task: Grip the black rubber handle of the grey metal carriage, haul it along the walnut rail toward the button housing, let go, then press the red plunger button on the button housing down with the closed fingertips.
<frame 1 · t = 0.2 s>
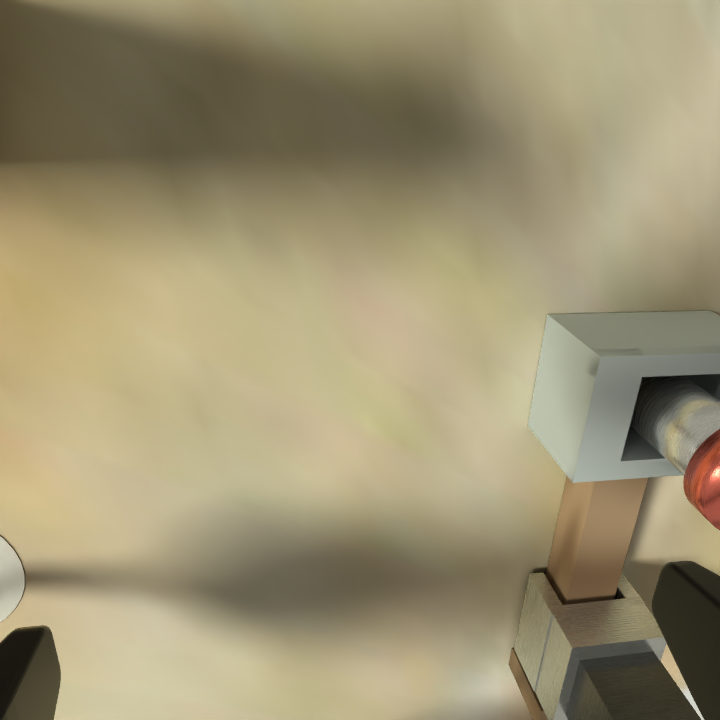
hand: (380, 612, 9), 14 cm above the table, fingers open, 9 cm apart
button housing: (616, 369, 25), on the table
carriage: (607, 681, 27), point 4 cm above the table, slide at -3.0 cm
rail: (572, 557, 29), on the table
red plunger button: (701, 437, 21), point 5 cm above the table, slide at 0.0 cm
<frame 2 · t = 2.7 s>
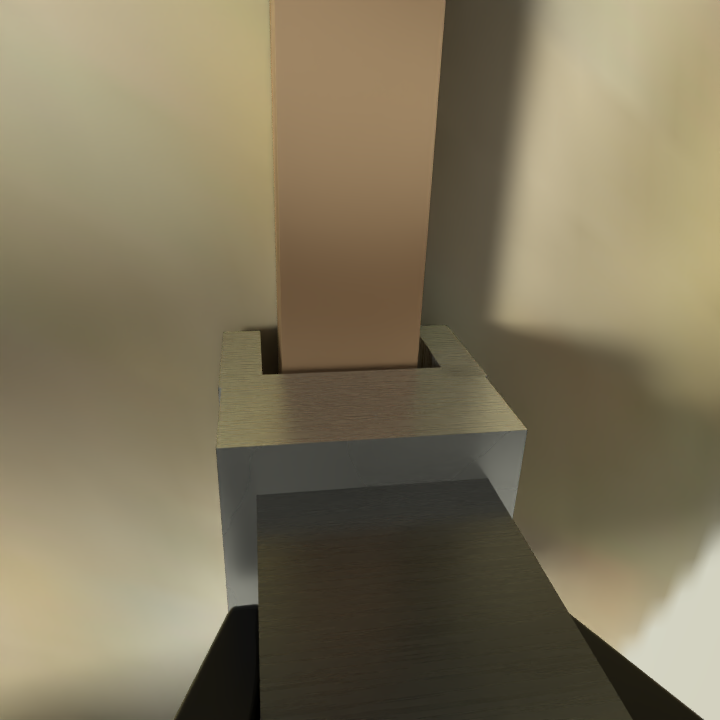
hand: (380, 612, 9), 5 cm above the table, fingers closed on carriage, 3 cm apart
carriage: (369, 571, 10), point 4 cm above the table, slide at -3.0 cm, touching gripper
rail: (336, 299, 12), on the table
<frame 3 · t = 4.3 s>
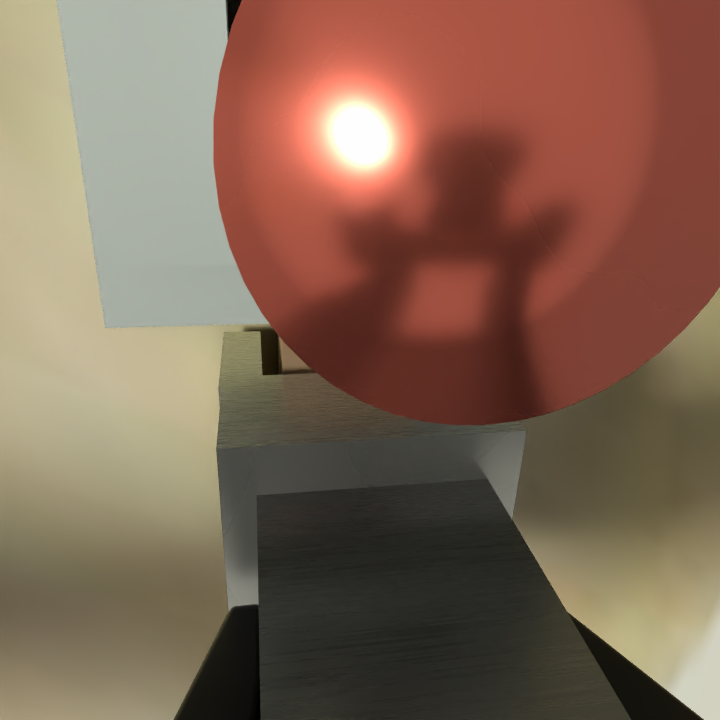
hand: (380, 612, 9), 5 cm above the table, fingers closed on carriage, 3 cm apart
button housing: (340, 108, 11), on the table
carriage: (369, 572, 10), point 4 cm above the table, slide at 3.4 cm, touching gripper
rail: (332, 549, 15), on the table
red plunger button: (411, 132, 6), point 5 cm above the table, slide at 0.0 cm
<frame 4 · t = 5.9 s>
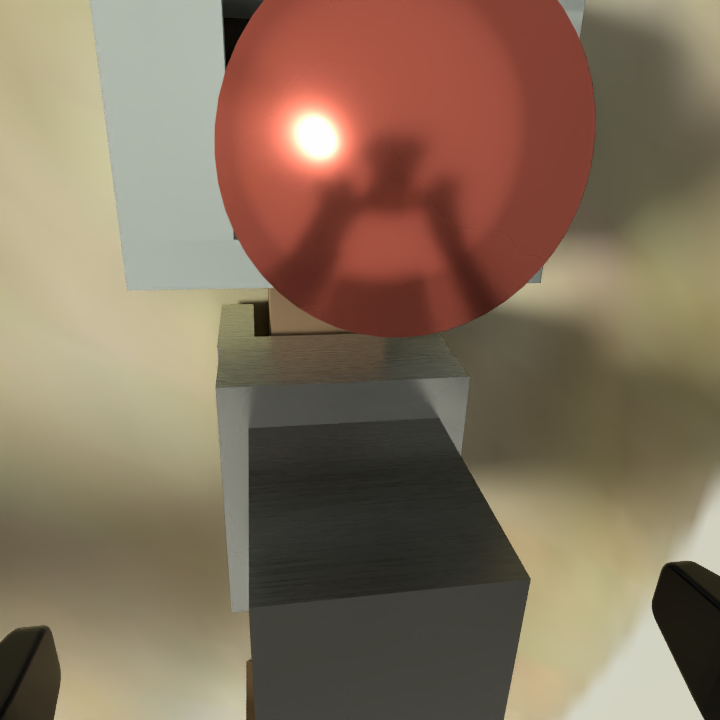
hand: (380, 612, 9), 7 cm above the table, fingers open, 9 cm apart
button housing: (320, 114, 13), on the table
carriage: (343, 498, 12), point 4 cm above the table, slide at 3.5 cm
rail: (318, 503, 17), on the table
red plunger button: (363, 134, 8), point 5 cm above the table, slide at 0.0 cm
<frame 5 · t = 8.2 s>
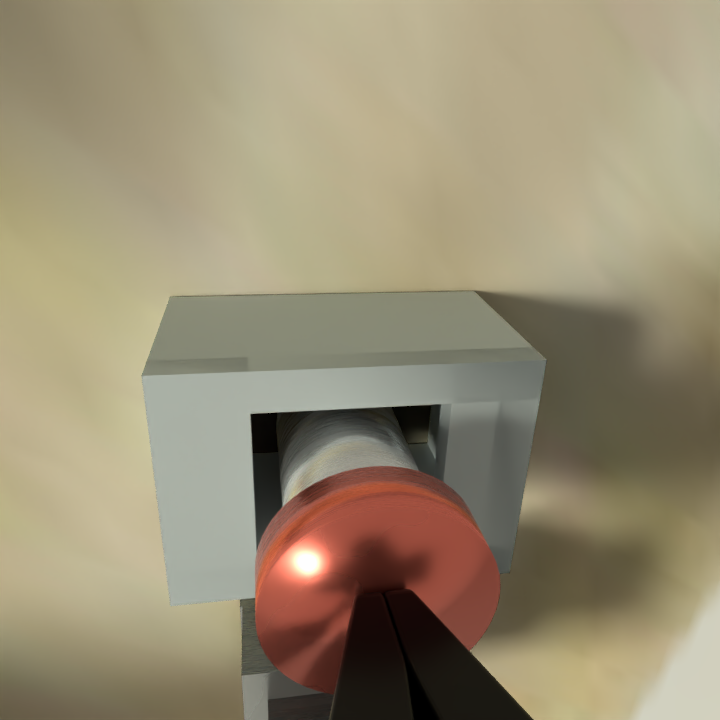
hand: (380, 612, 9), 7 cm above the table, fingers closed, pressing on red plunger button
button housing: (326, 390, 15), on the table
red plunger button: (353, 495, 11), point 4 cm above the table, slide at 1.1 cm, touching gripper
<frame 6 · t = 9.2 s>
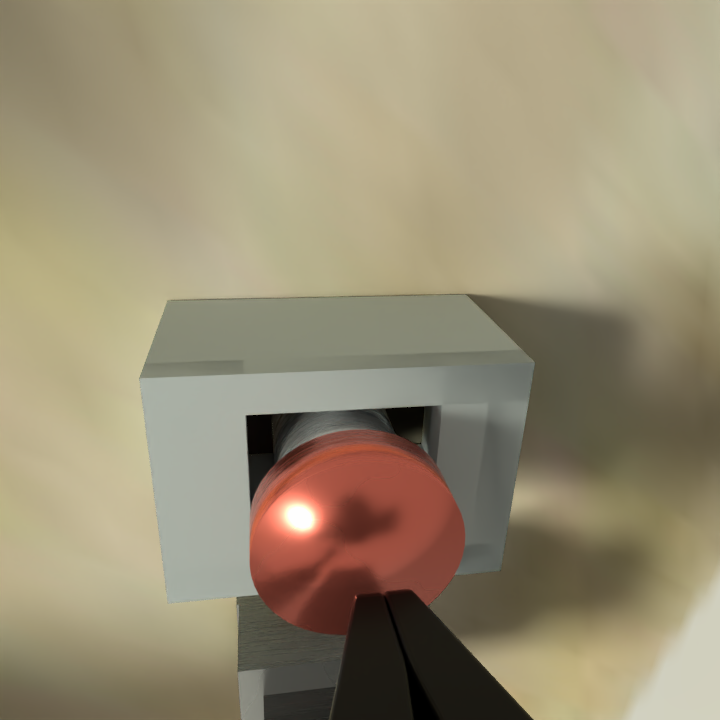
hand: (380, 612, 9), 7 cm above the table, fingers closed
button housing: (321, 392, 15), on the table
red plunger button: (338, 463, 13), point 3 cm above the table, slide at 2.1 cm
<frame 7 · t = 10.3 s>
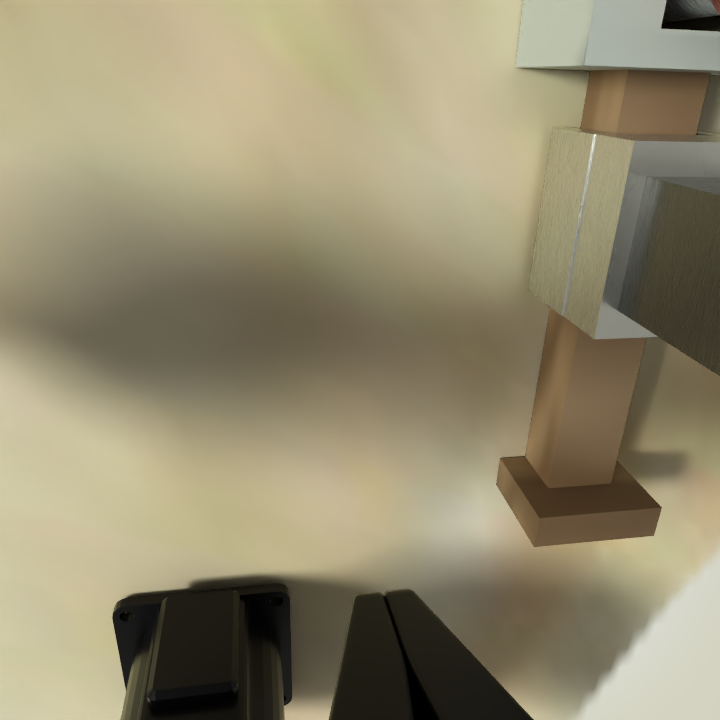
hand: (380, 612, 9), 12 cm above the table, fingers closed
carriage: (689, 244, 16), point 4 cm above the table, slide at 3.5 cm
rail: (582, 312, 21), on the table
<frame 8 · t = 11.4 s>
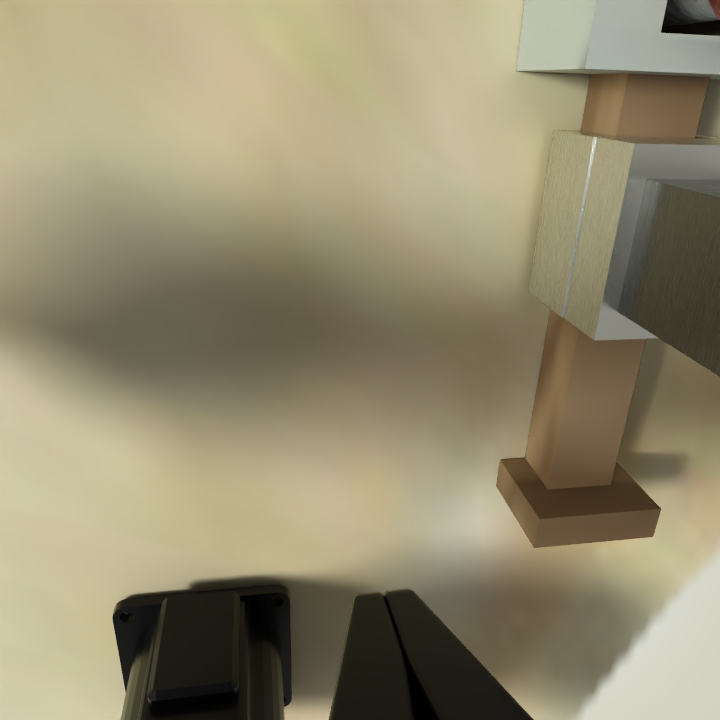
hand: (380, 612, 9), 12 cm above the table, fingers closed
carriage: (689, 246, 16), point 4 cm above the table, slide at 3.5 cm
rail: (581, 314, 21), on the table
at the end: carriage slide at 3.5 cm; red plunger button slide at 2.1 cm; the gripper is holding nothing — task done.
